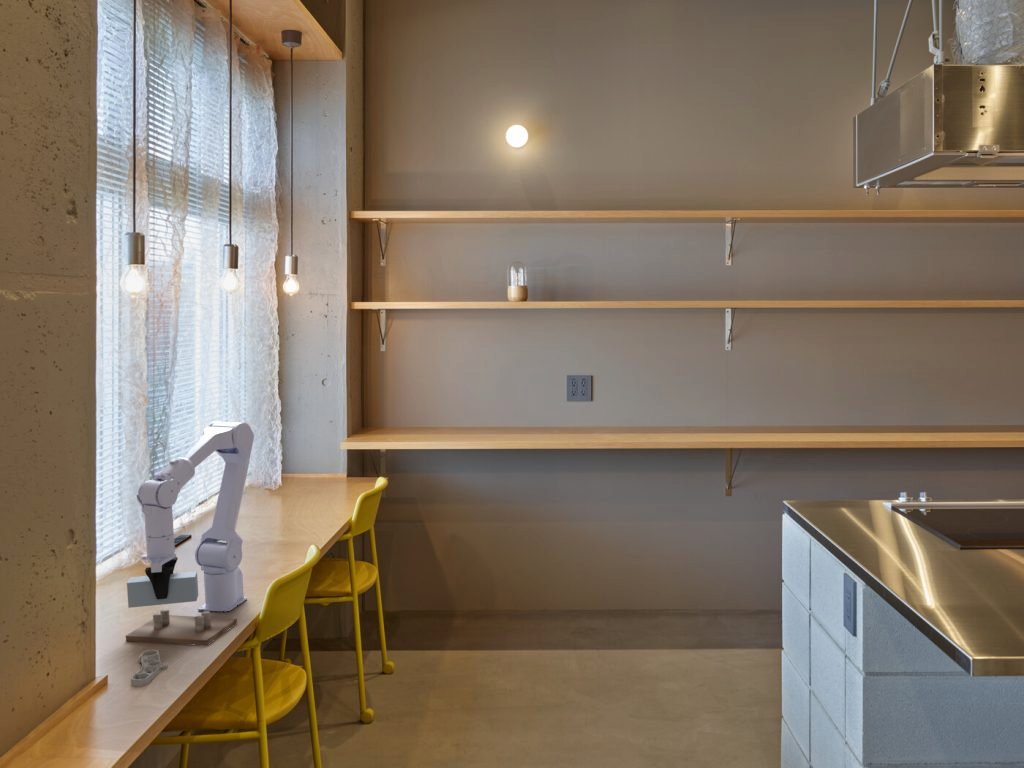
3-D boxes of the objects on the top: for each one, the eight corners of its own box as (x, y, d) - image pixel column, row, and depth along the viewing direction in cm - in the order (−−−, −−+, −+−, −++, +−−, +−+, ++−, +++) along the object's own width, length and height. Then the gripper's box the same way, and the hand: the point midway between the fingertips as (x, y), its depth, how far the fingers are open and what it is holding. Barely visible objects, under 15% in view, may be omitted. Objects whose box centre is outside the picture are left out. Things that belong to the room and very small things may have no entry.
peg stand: (160, 619, 209) (159, 601, 209) (236, 623, 205) (235, 605, 205) (126, 641, 196) (124, 622, 196) (206, 645, 193) (205, 626, 192)
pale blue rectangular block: (198, 595, 204) (196, 571, 204) (196, 601, 200) (195, 576, 200) (131, 601, 201) (130, 577, 201) (128, 607, 197) (126, 582, 197)
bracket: (109, 679, 173) (145, 647, 188) (110, 689, 174) (145, 656, 188) (148, 679, 173) (181, 647, 188) (149, 689, 173) (181, 656, 188)
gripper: (146, 527, 205) (149, 586, 207) (134, 544, 191) (138, 607, 193) (179, 525, 207) (182, 583, 208) (169, 542, 193) (173, 604, 194)
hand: (163, 594), depth 201 cm, fingers closed on pale blue rectangular block, 4 cm apart
